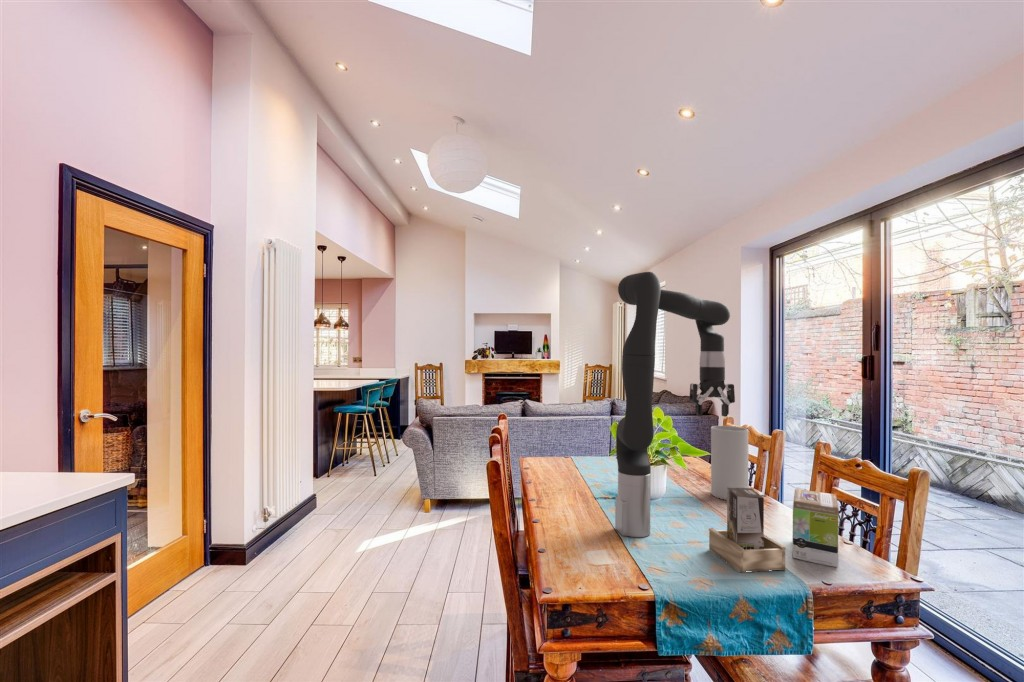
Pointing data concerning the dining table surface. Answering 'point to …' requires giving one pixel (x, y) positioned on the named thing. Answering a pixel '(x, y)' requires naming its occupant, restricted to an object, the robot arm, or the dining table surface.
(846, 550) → the dining table surface
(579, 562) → the dining table surface
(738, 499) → the coffee box
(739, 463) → the cylinder vase
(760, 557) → the crate
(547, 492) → the dining table surface
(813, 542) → the tea box
